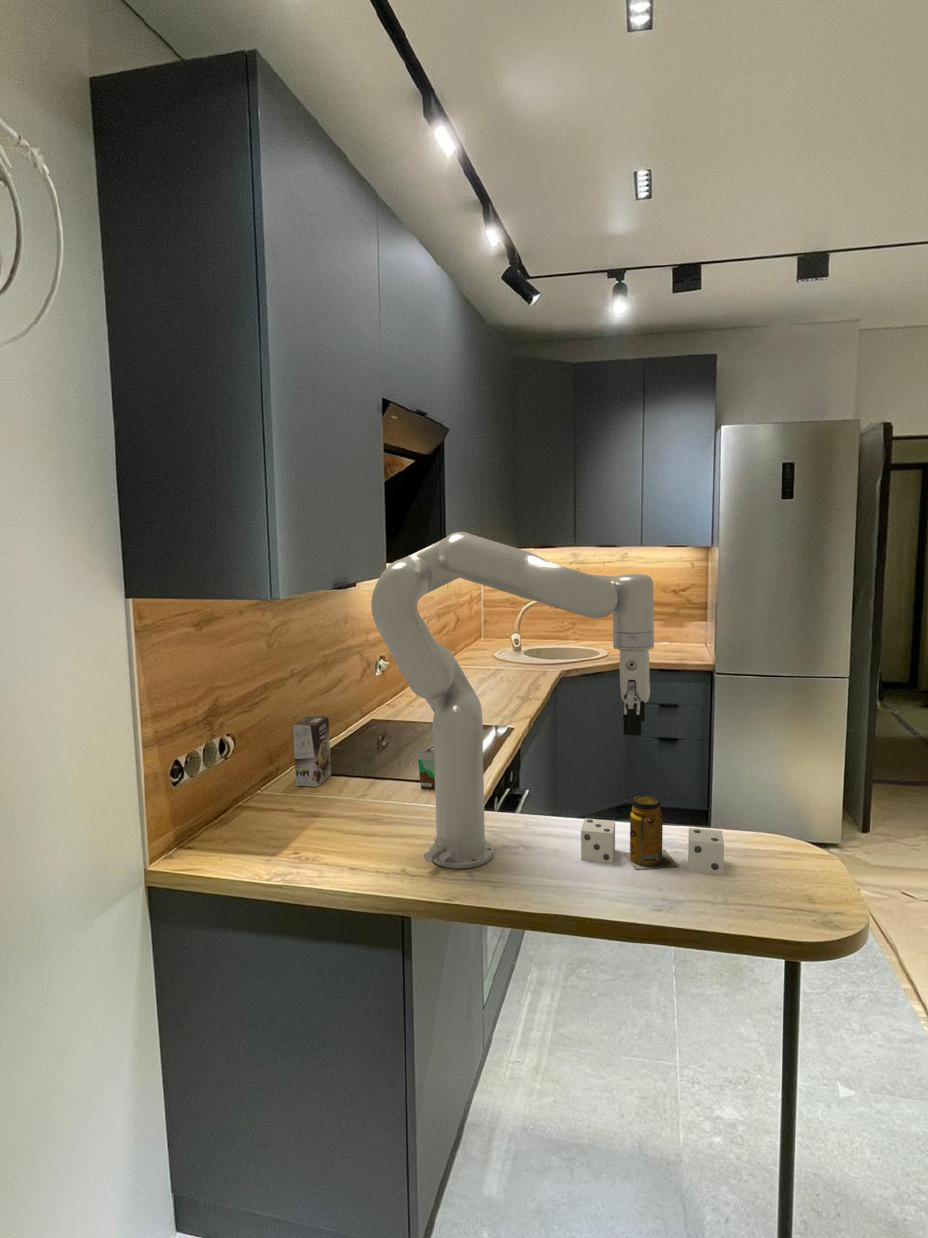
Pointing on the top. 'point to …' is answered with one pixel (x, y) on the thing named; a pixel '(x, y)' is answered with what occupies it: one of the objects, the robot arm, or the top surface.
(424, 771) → the food container
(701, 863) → the two dot block
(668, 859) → the condiment
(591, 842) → the three dot block
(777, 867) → the top surface
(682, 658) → the top surface
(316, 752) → the coffee box
